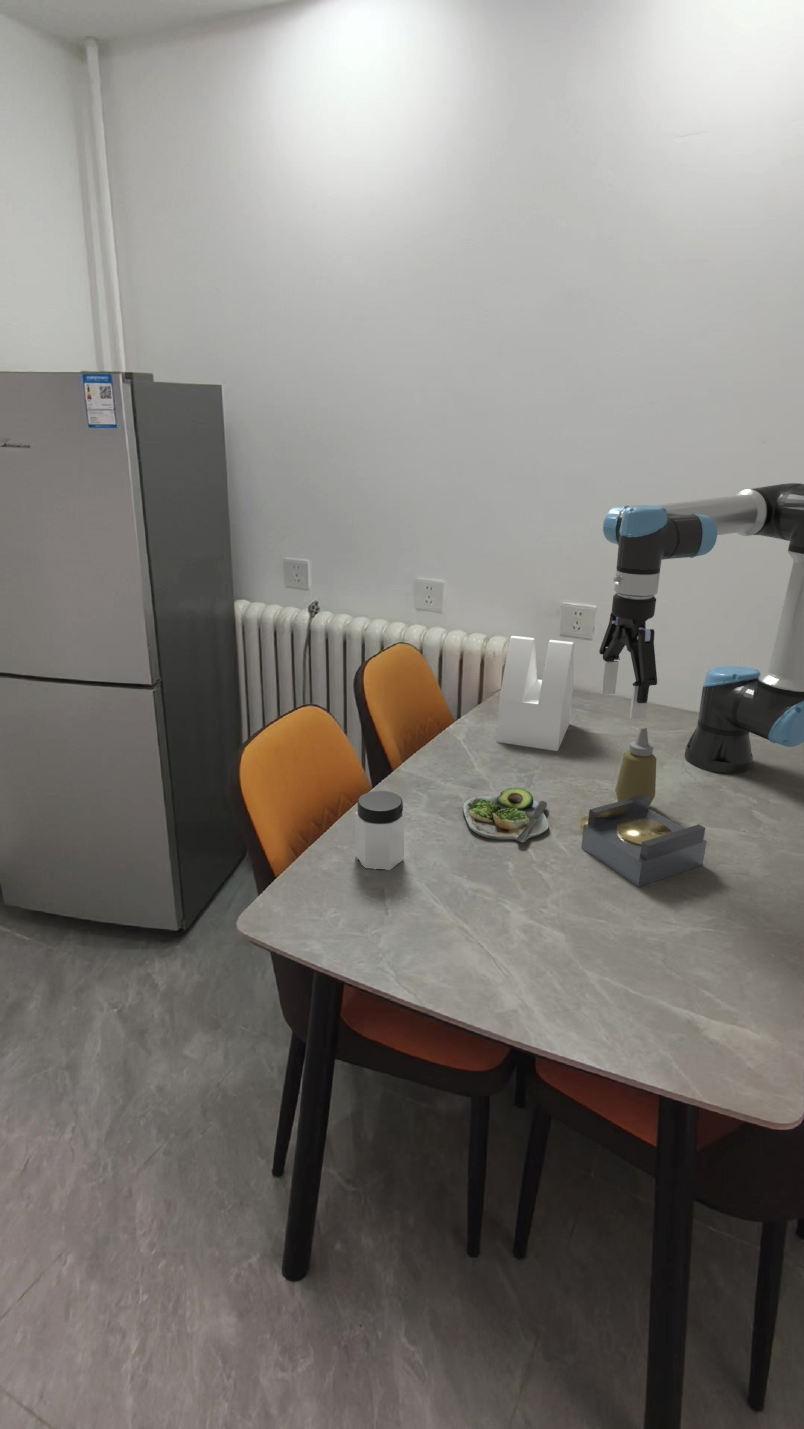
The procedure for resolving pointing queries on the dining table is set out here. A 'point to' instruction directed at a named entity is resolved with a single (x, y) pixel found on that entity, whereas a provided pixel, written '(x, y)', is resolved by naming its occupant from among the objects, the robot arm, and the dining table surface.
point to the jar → (379, 830)
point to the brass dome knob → (583, 823)
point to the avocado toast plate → (507, 815)
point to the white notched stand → (536, 695)
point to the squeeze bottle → (637, 770)
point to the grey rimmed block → (641, 841)
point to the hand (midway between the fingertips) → (621, 705)
